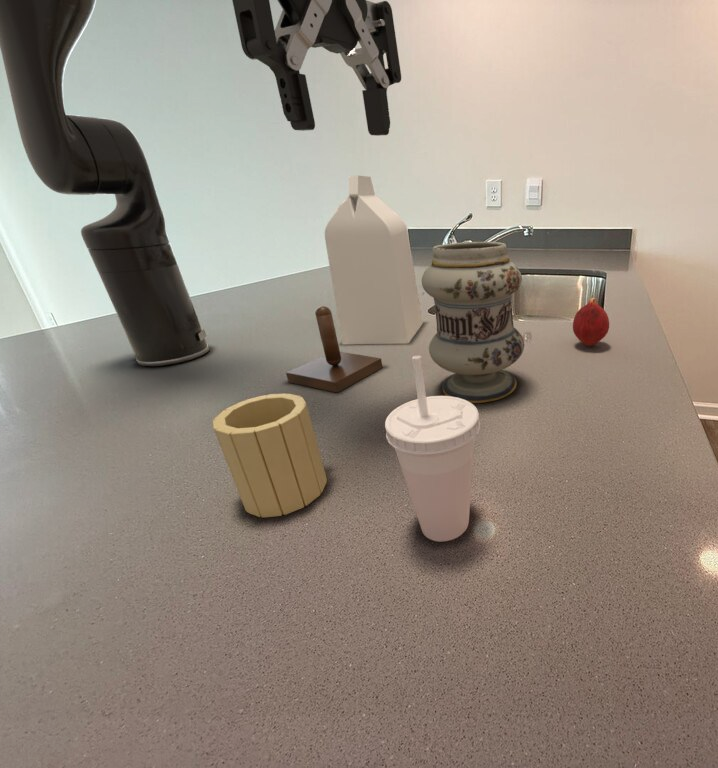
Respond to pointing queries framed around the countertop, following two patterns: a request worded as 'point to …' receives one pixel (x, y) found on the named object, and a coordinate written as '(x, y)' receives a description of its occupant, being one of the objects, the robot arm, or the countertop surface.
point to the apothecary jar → (474, 318)
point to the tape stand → (333, 361)
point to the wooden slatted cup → (271, 453)
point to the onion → (591, 323)
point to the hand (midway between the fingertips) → (344, 132)
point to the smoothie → (436, 457)
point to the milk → (372, 270)
